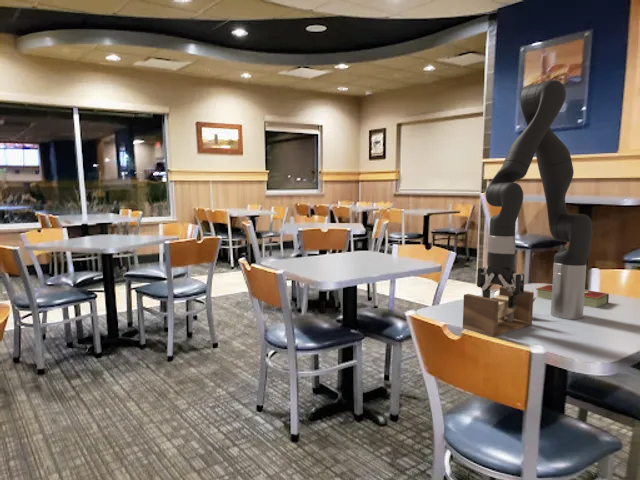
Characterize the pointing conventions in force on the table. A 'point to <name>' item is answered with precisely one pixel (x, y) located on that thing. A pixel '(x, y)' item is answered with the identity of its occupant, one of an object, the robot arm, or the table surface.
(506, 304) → the shelf board
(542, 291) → the hardcover book
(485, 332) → the peg rack
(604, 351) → the table surface
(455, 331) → the table surface
